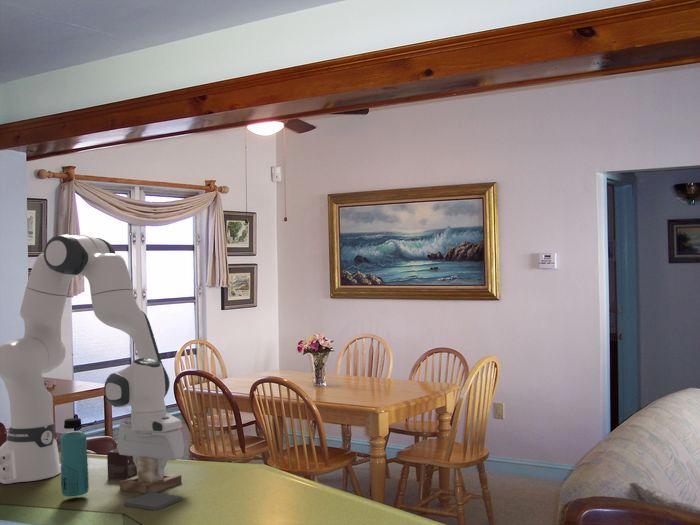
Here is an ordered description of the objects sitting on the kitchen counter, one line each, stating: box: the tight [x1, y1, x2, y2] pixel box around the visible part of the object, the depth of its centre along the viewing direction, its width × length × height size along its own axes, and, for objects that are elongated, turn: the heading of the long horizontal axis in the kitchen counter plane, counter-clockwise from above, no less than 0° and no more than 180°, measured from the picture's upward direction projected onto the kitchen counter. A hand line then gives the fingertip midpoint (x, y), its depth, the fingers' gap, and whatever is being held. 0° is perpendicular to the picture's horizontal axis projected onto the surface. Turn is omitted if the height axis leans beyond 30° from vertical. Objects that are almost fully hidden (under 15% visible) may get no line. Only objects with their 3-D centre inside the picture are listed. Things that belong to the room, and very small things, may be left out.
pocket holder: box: [119, 472, 182, 494], centre depth 197 cm, size 11×11×2 cm
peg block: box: [137, 456, 163, 483], centre depth 197 cm, size 4×4×8 cm
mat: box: [123, 492, 183, 511], centre depth 182 cm, size 10×9×1 cm
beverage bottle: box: [59, 417, 90, 497], centre depth 188 cm, size 6×7×20 cm
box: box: [106, 447, 138, 480], centre depth 209 cm, size 6×6×7 cm
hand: (150, 474), depth 197 cm, fingers open, 5 cm apart
